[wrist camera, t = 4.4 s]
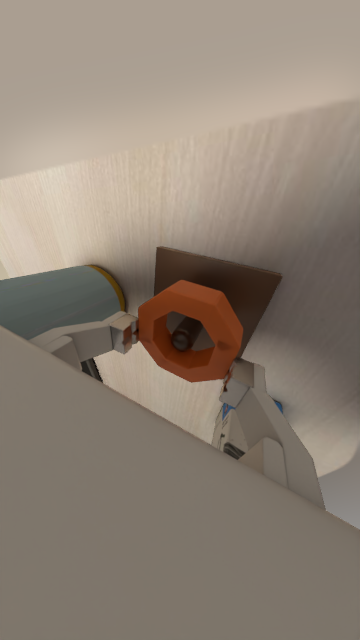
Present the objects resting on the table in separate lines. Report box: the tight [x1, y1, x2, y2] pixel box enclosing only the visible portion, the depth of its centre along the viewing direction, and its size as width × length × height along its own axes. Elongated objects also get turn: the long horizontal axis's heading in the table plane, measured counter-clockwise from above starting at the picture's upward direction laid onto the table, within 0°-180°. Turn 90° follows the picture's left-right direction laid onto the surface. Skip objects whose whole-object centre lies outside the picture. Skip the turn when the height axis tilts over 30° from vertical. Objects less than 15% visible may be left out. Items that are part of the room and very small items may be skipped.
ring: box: [138, 280, 243, 382], centre depth 9 cm, size 6×6×2 cm
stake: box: [154, 246, 282, 358], centre depth 11 cm, size 9×9×5 cm
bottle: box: [0, 265, 125, 340], centre depth 12 cm, size 7×7×15 cm
